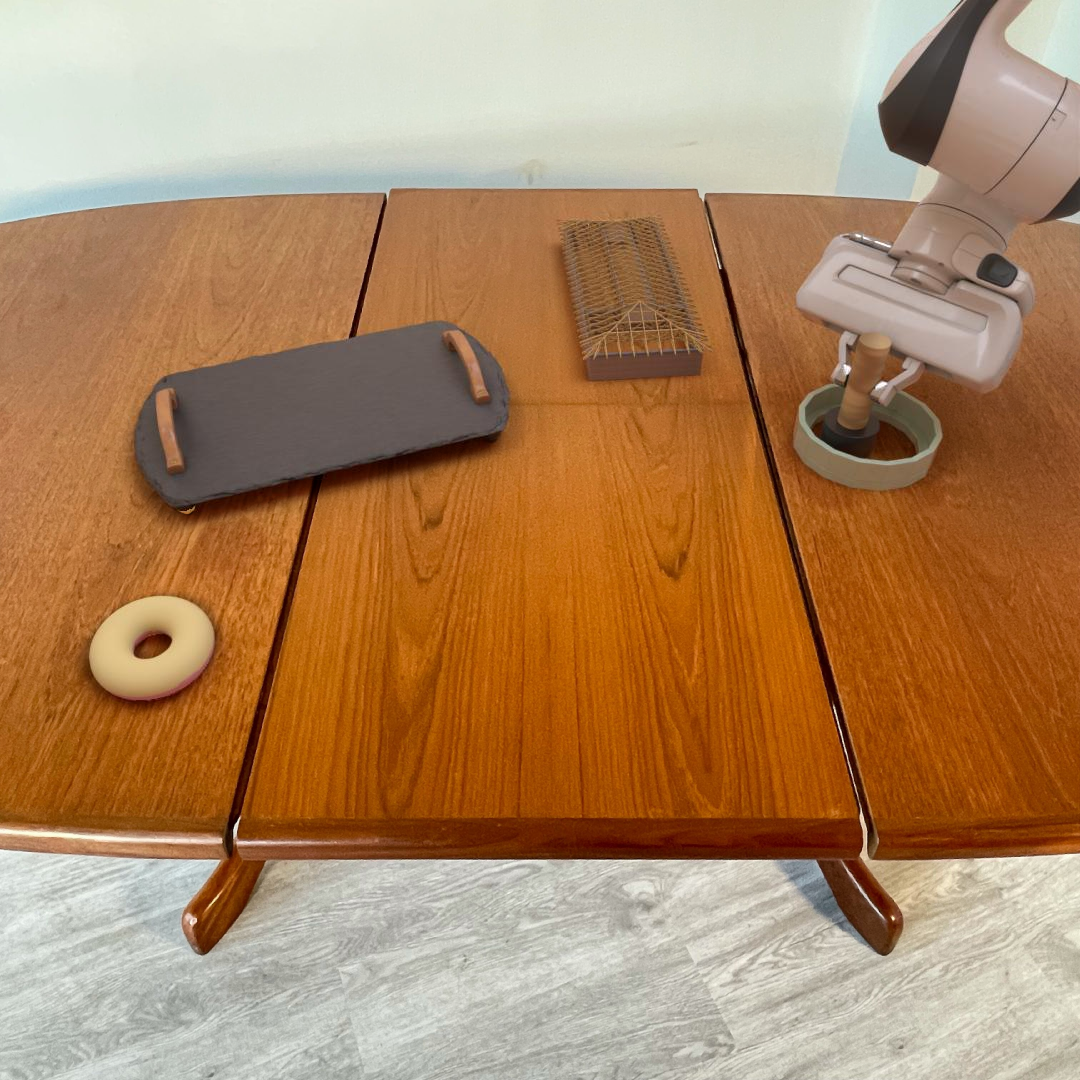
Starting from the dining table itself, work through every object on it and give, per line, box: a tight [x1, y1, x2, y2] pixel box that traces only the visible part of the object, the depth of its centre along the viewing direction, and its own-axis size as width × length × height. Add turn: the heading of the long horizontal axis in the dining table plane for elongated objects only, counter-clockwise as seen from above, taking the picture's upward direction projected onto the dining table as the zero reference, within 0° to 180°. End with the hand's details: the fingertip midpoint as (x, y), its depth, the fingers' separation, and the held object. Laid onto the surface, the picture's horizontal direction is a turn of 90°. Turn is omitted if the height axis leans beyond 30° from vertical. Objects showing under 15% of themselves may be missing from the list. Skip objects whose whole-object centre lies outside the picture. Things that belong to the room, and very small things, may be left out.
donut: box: [88, 595, 216, 701], centre depth 71 cm, size 10×5×9 cm
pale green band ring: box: [792, 383, 943, 492], centre depth 86 cm, size 13×13×5 cm
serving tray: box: [133, 319, 511, 512], centre depth 92 cm, size 39×23×6 cm, turn 110°
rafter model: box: [555, 213, 714, 382], centre depth 109 cm, size 35×14×6 cm, turn 4°
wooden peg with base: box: [818, 332, 892, 459], centre depth 83 cm, size 5×5×12 cm
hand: (857, 393), depth 82 cm, fingers closed on wooden peg with base, 3 cm apart
